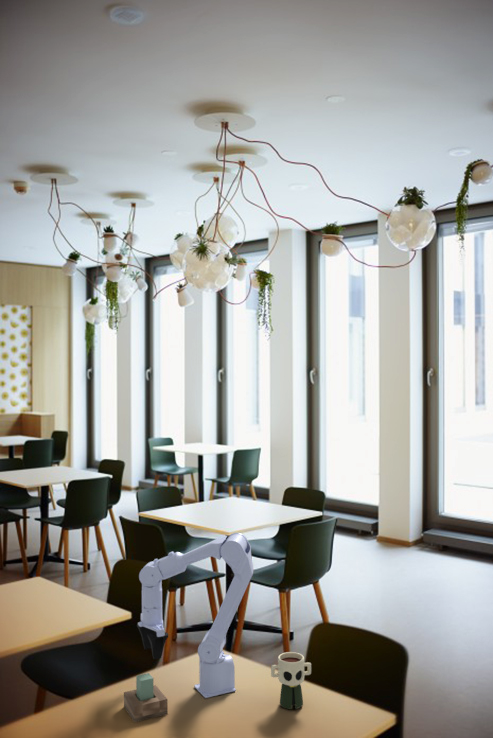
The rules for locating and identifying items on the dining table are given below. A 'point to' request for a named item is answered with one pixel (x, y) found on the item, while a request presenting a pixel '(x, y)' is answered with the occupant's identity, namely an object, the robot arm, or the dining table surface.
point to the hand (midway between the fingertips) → (152, 653)
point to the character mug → (291, 678)
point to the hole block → (145, 705)
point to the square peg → (144, 687)
